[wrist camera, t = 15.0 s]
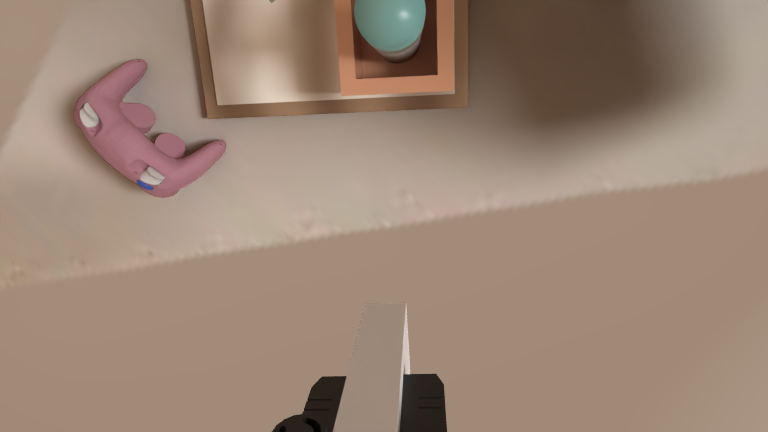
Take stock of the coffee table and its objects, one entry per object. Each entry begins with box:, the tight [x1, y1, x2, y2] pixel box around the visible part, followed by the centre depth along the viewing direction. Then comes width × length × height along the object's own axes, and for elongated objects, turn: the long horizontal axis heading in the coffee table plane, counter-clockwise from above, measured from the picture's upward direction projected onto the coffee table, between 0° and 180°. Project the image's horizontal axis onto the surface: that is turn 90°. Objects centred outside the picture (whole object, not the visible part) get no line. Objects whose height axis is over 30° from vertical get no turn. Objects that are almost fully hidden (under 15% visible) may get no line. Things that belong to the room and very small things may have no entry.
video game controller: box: [73, 59, 226, 198], centre depth 36 cm, size 10×5×7 cm, turn 43°
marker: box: [354, 0, 426, 63], centre depth 28 cm, size 3×3×12 cm
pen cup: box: [334, 0, 454, 96], centre depth 32 cm, size 7×7×5 cm
